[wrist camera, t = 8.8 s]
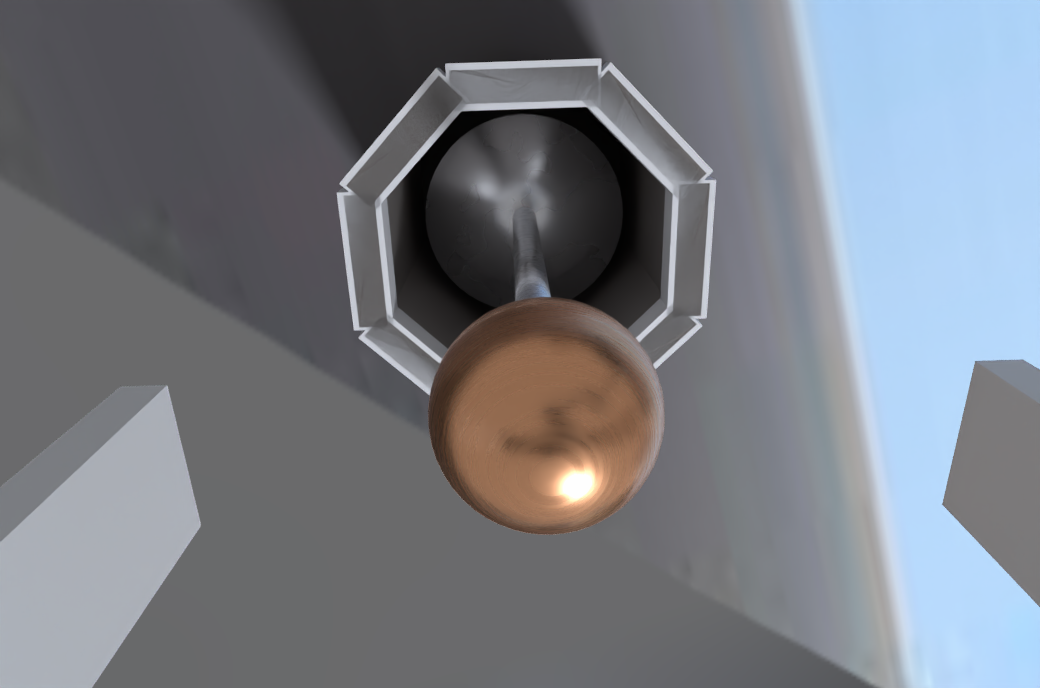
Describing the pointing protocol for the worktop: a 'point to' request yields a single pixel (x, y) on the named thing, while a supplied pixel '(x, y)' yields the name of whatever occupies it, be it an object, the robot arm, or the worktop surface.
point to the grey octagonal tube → (599, 116)
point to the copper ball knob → (537, 332)
